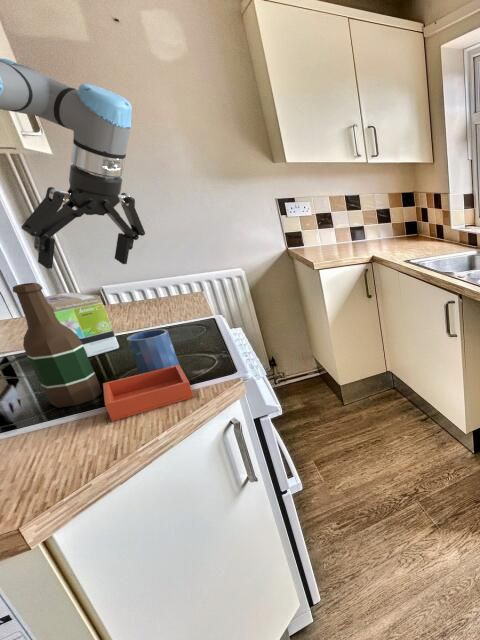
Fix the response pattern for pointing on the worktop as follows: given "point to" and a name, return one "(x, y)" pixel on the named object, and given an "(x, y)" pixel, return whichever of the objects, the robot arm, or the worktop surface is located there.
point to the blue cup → (152, 350)
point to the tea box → (85, 320)
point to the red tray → (146, 392)
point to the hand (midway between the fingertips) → (85, 263)
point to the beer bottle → (55, 352)
